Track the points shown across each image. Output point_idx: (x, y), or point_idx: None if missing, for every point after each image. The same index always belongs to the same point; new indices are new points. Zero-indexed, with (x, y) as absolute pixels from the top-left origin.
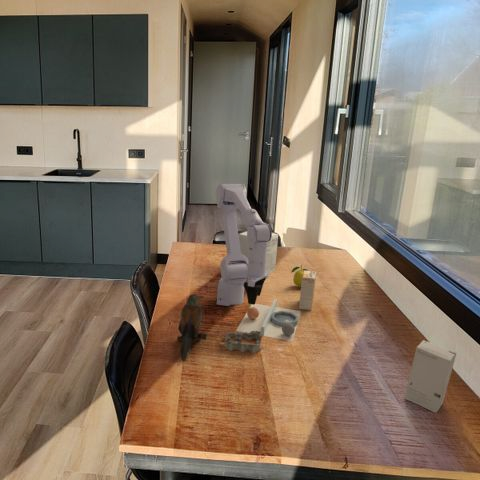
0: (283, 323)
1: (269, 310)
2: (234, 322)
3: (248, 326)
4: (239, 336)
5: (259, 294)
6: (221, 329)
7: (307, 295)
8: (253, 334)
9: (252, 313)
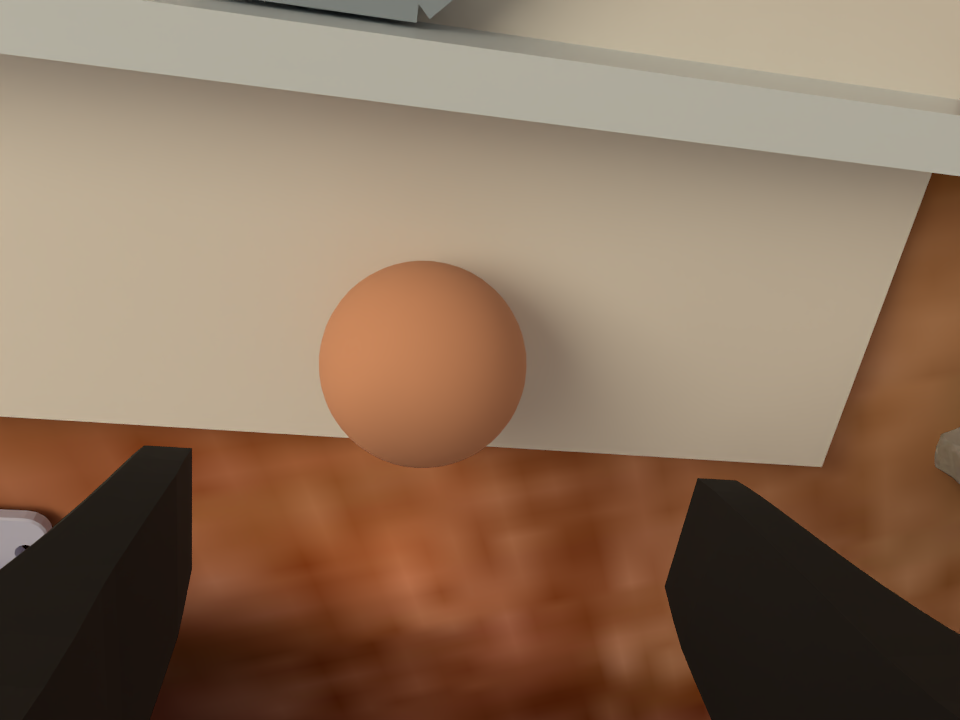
0: None
1: (324, 86)
2: (507, 508)
3: (686, 343)
4: None
5: (181, 473)
6: None
7: None
8: None
9: (524, 381)
